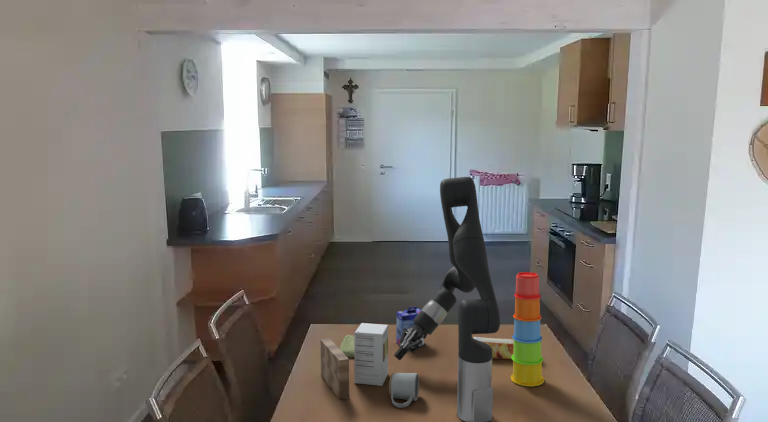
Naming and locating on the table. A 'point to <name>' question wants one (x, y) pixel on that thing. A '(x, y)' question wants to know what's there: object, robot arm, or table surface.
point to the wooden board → (335, 368)
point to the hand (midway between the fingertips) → (396, 358)
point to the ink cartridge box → (405, 321)
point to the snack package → (499, 347)
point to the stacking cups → (527, 332)
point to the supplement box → (371, 354)
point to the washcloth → (348, 346)
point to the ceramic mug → (404, 387)
